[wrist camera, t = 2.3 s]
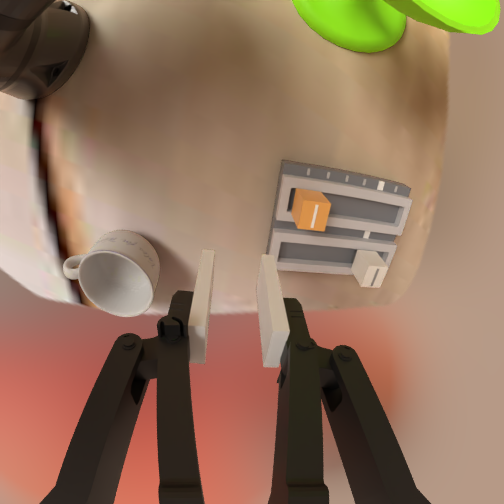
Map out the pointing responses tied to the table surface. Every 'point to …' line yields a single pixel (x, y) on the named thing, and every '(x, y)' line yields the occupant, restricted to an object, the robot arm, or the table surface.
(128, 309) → the teacup
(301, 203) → the fader
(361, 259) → the fader
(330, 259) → the console
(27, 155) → the table surface
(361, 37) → the wineglass
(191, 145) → the table surface
